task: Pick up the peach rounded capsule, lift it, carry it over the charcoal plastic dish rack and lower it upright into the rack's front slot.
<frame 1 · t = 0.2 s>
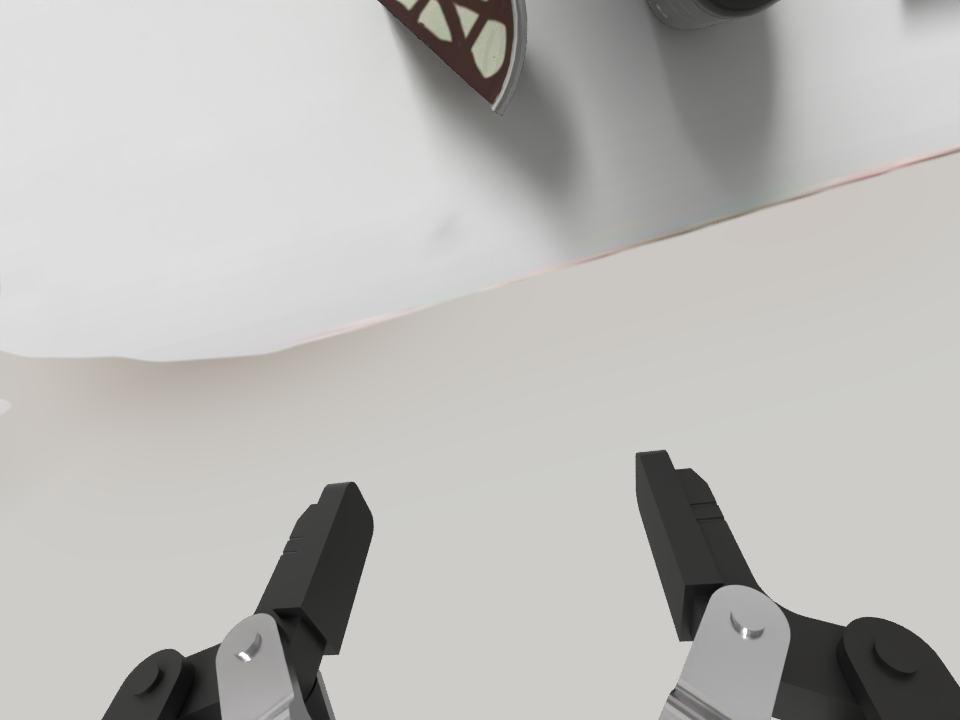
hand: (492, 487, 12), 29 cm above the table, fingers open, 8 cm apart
food container: (460, 0, 29), on the table
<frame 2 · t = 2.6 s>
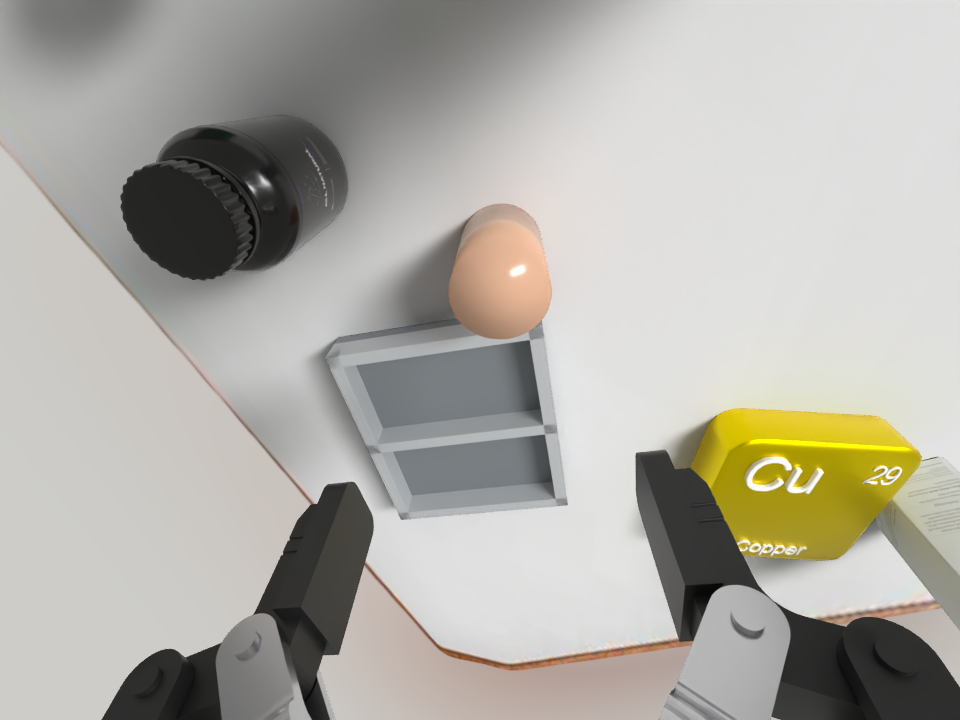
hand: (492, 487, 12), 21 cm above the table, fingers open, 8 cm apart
rack: (462, 415, 38), on the table
peach rounded capsule: (501, 245, 30), on the table
supplement bottle: (298, 172, 28), on the table
skincare box: (901, 488, 41), on the table
element tile: (767, 468, 41), on the table
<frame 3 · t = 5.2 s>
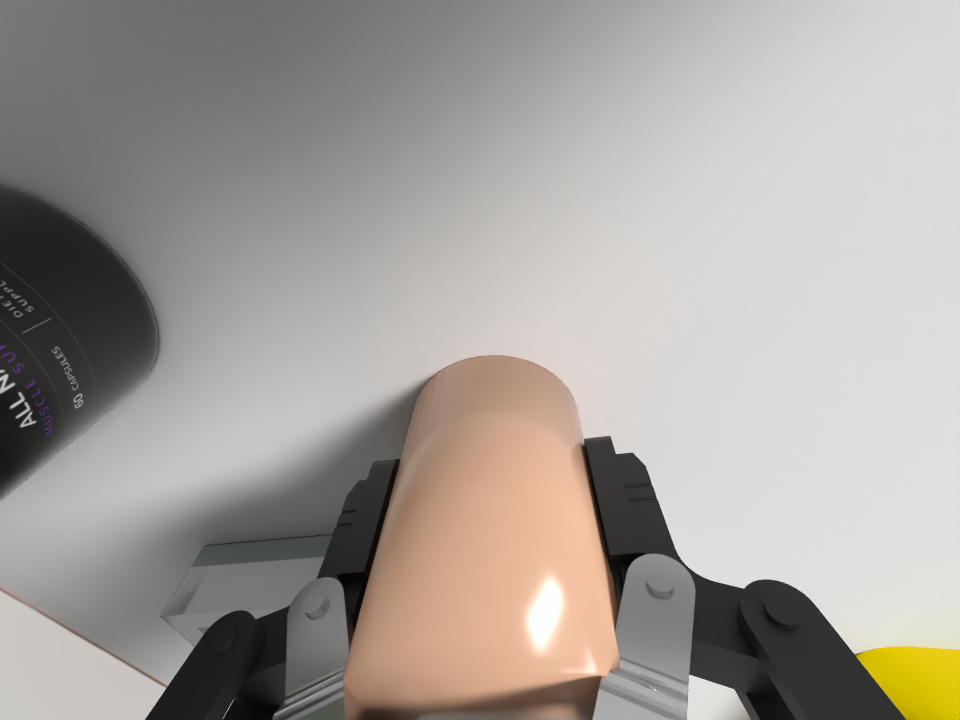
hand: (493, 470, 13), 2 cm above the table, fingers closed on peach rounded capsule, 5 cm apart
rack: (432, 640, 23), on the table
peach rounded capsule: (495, 424, 15), on the table, touching gripper
supplement bottle: (51, 291, 13), on the table
element tile: (917, 700, 26), on the table
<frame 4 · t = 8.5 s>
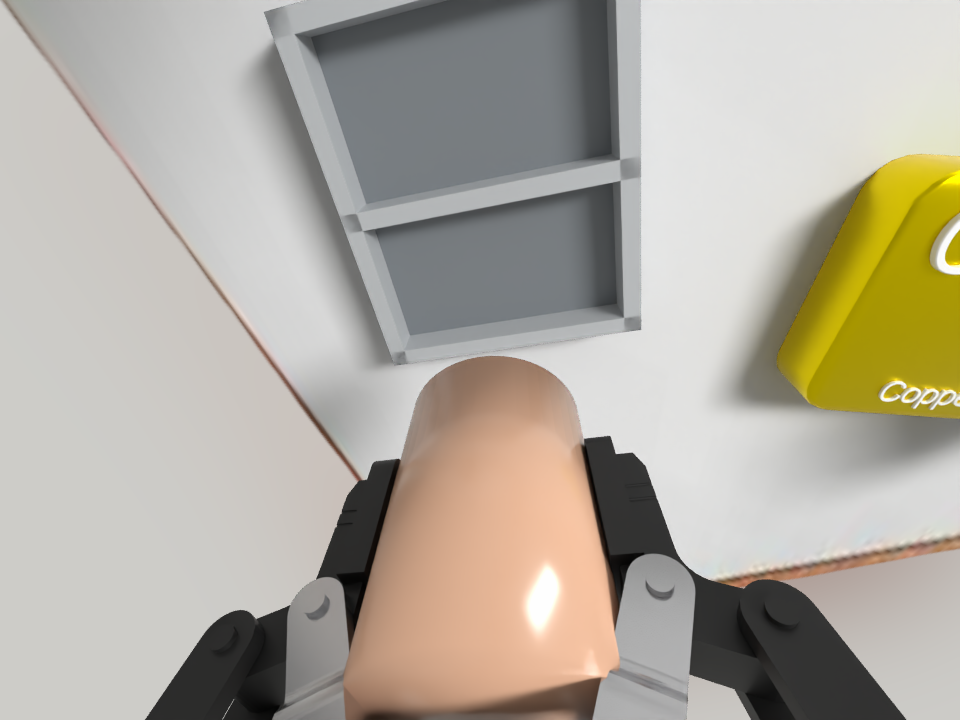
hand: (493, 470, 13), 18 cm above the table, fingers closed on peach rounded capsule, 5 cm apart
rack: (486, 185, 26), on the table
peach rounded capsule: (495, 424, 15), point 16 cm above the table, touching gripper
element tile: (925, 283, 28), on the table
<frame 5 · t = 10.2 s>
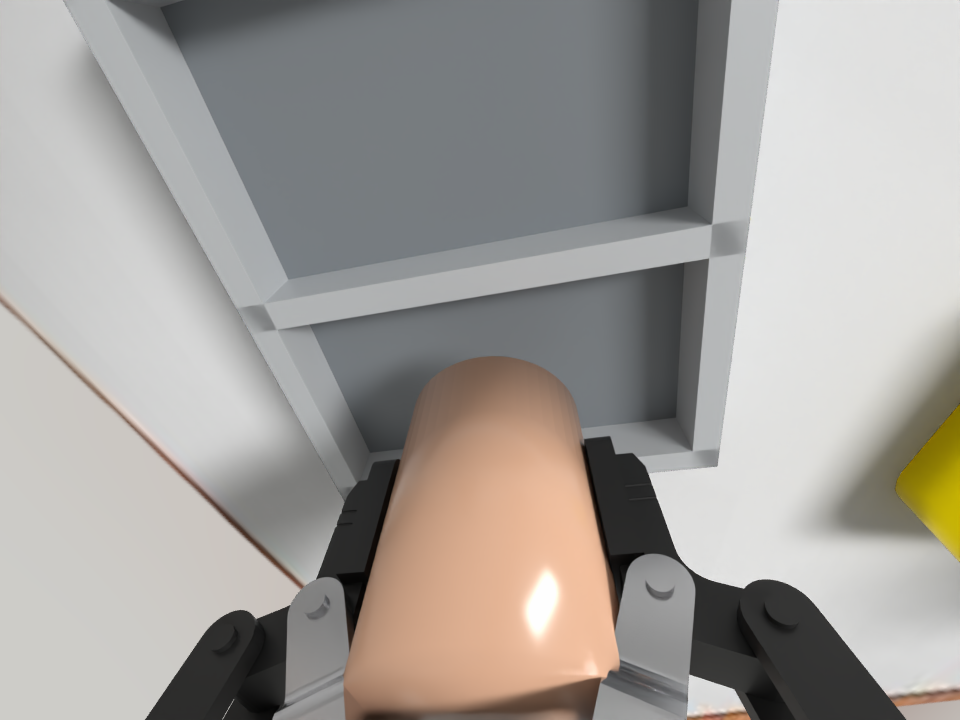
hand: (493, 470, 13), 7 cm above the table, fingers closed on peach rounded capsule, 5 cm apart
rack: (478, 249, 16), on the table
peach rounded capsule: (495, 424, 15), point 5 cm above the table, touching gripper
when the fingers open (4 cm above the table, at t = 11.7 s): peach rounded capsule drops 1 cm, resting on rack.
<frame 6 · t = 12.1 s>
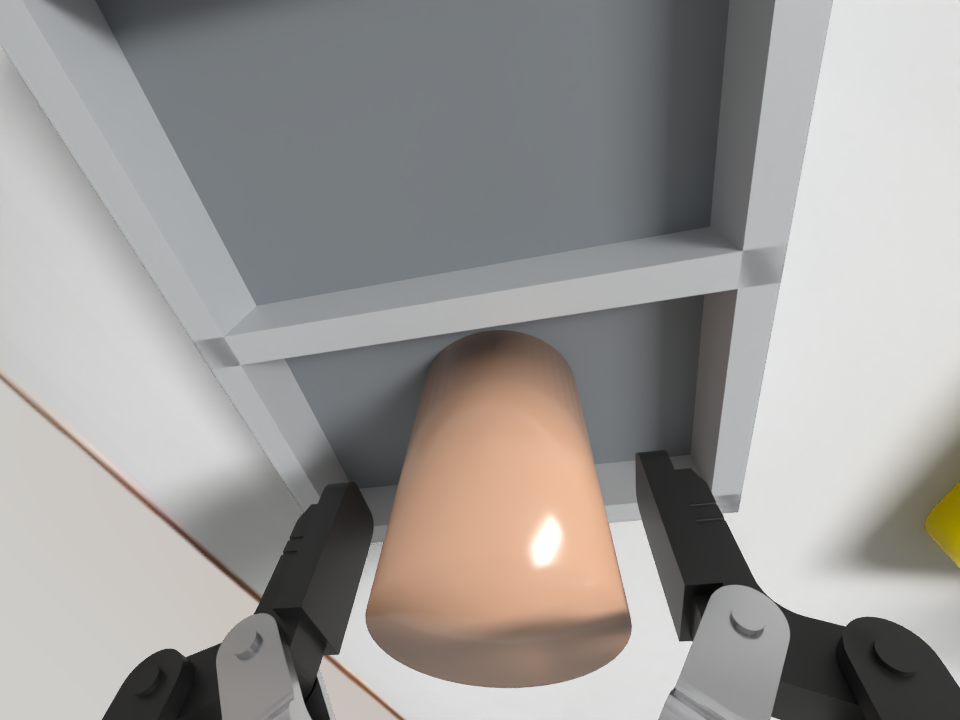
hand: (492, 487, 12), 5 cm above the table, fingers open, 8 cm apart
rack: (471, 272, 14), on the table
peach rounded capsule: (499, 395, 16), point 1 cm above the table, touching rack
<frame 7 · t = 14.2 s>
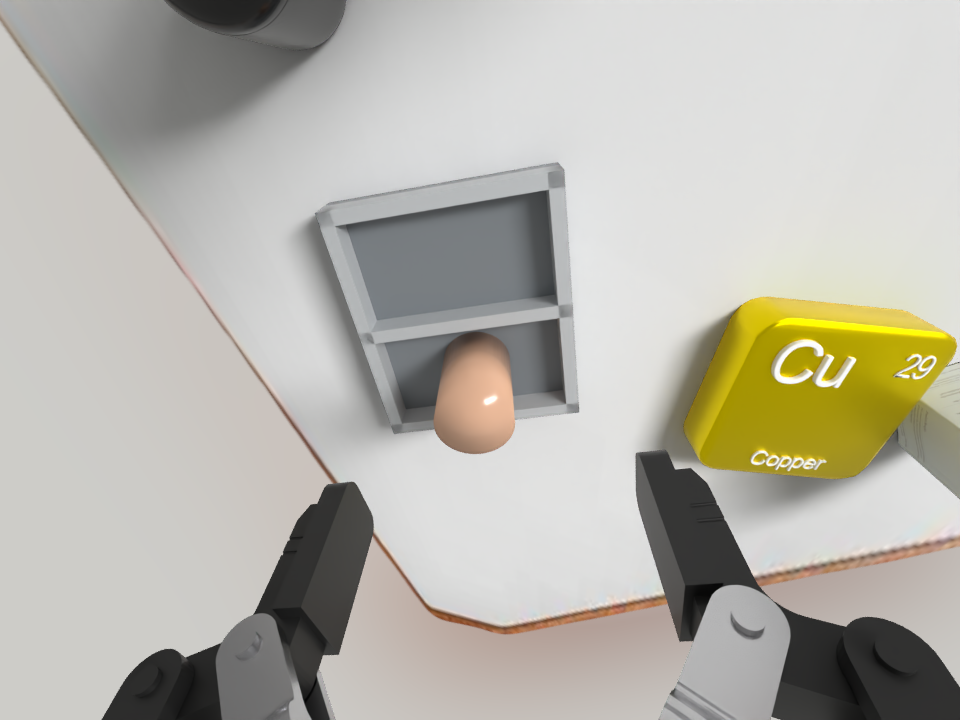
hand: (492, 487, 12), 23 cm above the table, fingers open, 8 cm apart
rack: (465, 308, 35), on the table
peach rounded capsule: (476, 361, 36), point 1 cm above the table, touching rack
skincare box: (926, 400, 39), on the table
element tile: (785, 377, 38), on the table
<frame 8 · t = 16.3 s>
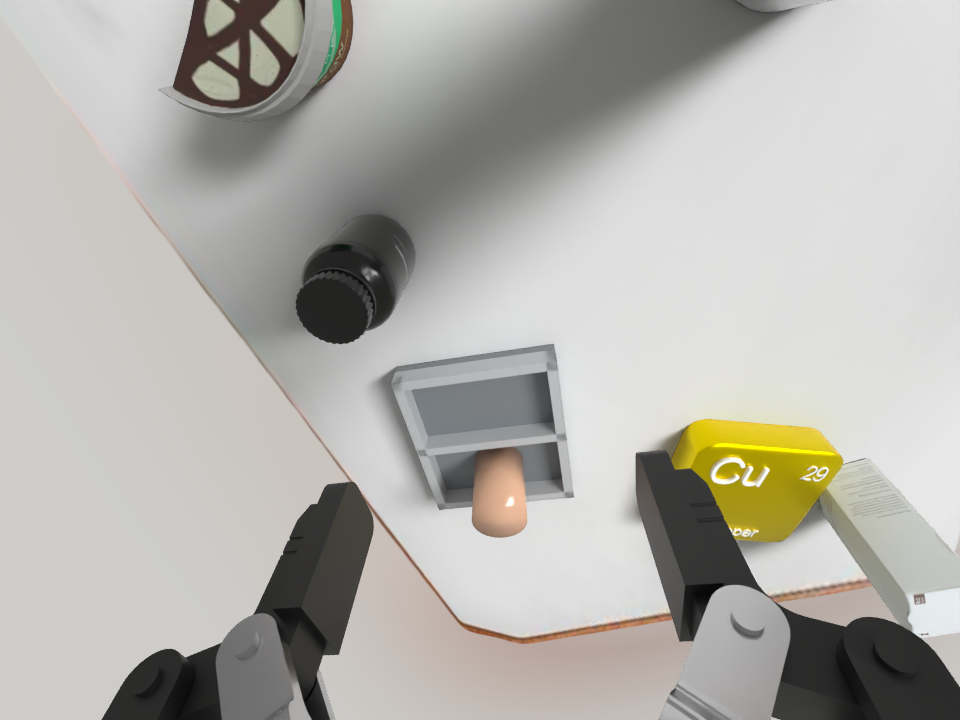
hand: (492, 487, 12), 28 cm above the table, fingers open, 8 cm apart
rack: (490, 426, 49), on the table
peach rounded capsule: (499, 460, 50), point 1 cm above the table, touching rack
supplement bottle: (378, 250, 38), on the table
food container: (322, 39, 30), on the table
skincare box: (840, 483, 51), on the table
element tile: (730, 467, 51), on the table
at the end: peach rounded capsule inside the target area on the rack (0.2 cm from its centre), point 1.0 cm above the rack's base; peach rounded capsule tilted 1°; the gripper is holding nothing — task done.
